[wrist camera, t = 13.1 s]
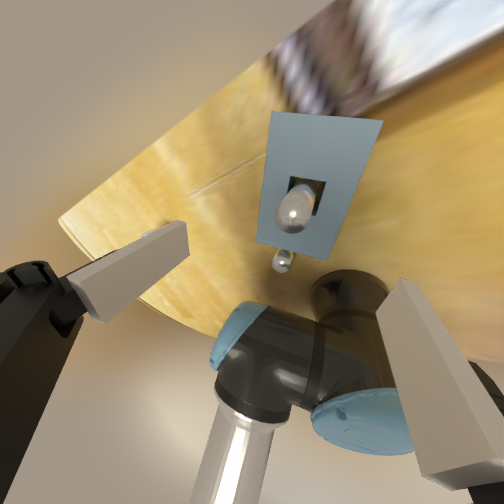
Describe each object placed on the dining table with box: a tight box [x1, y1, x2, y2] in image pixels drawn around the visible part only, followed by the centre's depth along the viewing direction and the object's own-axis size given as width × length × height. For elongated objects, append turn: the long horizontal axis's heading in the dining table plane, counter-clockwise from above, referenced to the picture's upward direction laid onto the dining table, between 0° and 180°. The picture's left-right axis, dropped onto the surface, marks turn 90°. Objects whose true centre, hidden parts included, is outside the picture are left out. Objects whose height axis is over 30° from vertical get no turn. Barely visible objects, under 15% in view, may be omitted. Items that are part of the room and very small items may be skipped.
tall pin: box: [274, 178, 318, 234], centre depth 24 cm, size 4×4×16 cm
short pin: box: [272, 248, 295, 273], centre depth 35 cm, size 4×4×6 cm
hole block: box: [256, 111, 384, 261], centre depth 28 cm, size 18×12×7 cm, turn 174°
